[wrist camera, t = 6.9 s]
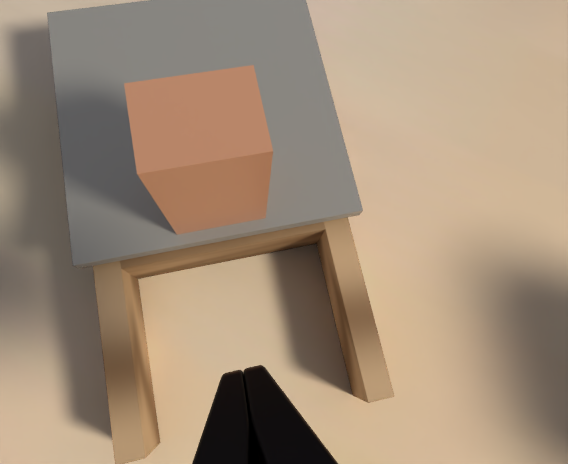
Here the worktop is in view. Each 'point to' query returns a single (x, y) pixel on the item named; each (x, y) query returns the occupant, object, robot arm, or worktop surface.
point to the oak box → (124, 274)
